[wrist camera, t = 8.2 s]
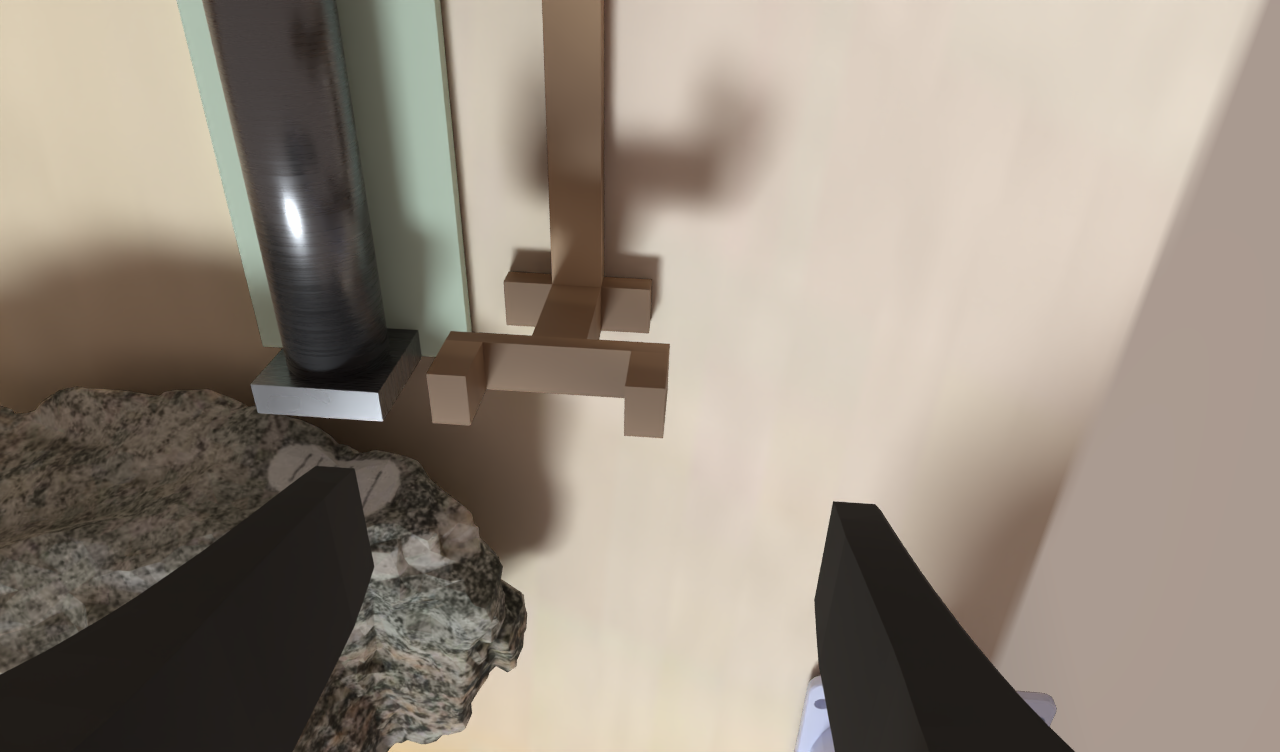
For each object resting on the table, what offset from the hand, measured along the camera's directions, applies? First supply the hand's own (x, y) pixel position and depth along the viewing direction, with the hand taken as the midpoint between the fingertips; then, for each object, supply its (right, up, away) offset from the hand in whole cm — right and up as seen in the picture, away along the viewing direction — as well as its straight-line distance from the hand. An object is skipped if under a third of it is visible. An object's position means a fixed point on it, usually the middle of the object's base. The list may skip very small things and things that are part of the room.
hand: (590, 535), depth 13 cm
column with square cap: (-6, +8, +6) cm, 12 cm away
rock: (-11, -2, +14) cm, 18 cm away
